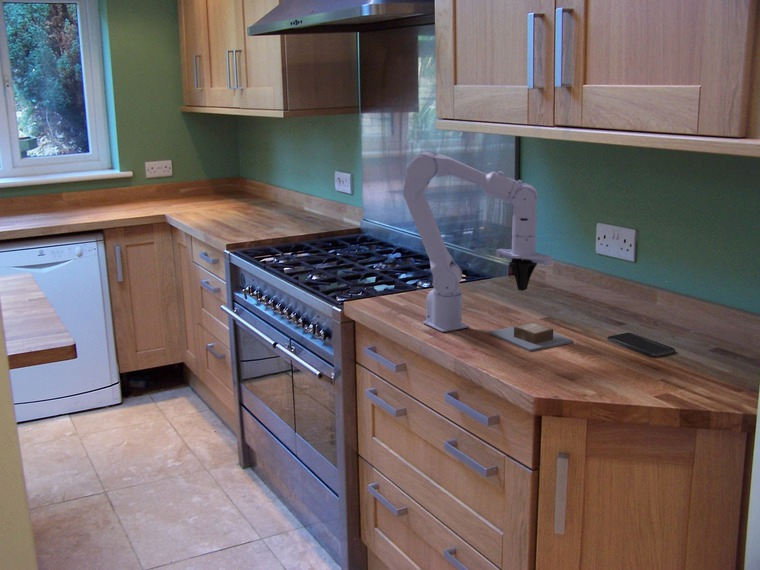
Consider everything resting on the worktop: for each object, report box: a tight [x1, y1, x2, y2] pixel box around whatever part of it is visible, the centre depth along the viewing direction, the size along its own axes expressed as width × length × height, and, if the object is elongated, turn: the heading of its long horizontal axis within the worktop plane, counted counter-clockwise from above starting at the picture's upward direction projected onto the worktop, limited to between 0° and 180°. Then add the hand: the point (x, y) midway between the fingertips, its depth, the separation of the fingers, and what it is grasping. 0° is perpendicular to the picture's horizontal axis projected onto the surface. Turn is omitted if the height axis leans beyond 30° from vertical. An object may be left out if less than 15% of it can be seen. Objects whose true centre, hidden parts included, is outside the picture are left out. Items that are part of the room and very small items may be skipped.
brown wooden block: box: [513, 322, 554, 344], centre depth 196 cm, size 3×6×7 cm
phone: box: [606, 332, 676, 359], centre depth 191 cm, size 8×1×15 cm
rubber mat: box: [487, 325, 574, 352], centre depth 198 cm, size 16×13×1 cm
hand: (522, 289), depth 202 cm, fingers closed
